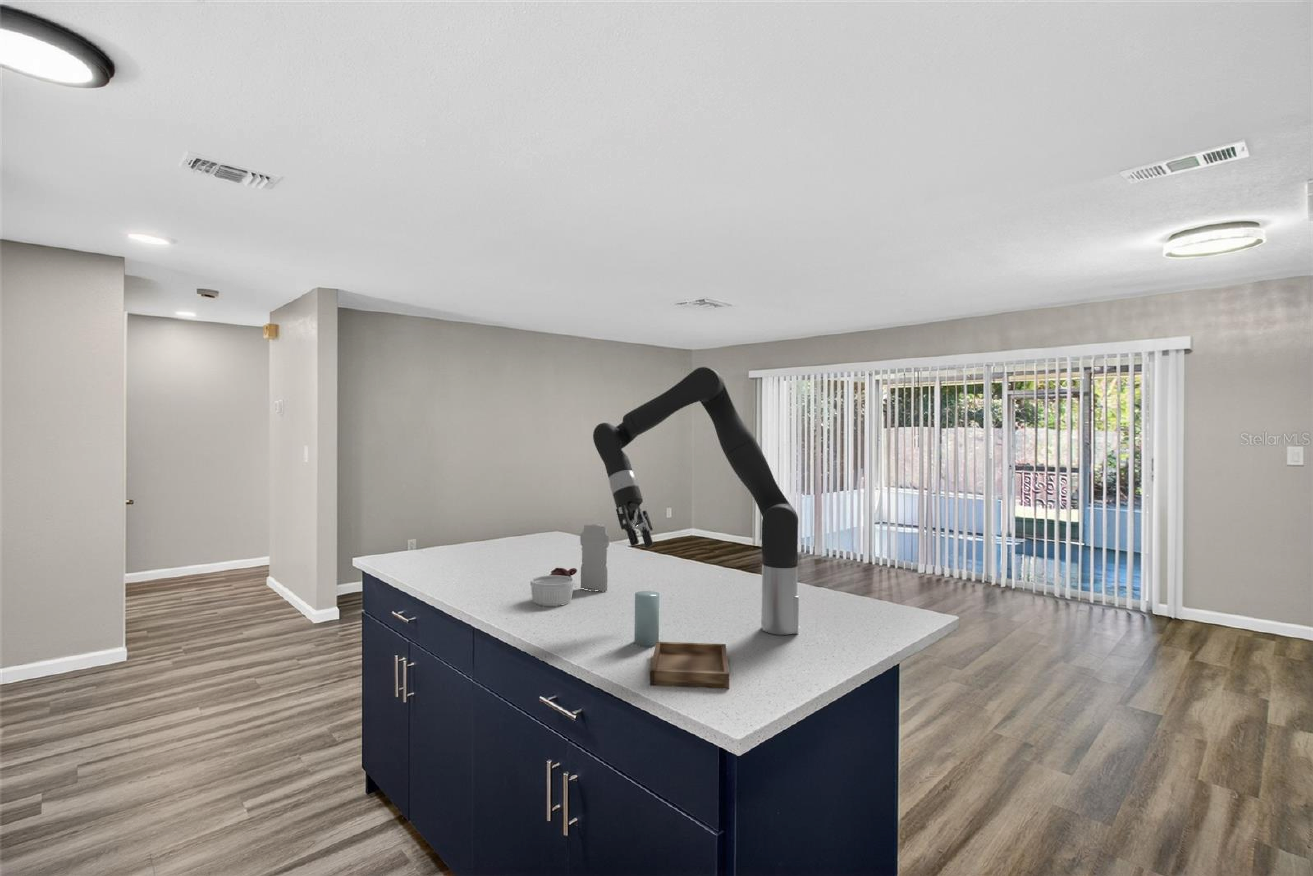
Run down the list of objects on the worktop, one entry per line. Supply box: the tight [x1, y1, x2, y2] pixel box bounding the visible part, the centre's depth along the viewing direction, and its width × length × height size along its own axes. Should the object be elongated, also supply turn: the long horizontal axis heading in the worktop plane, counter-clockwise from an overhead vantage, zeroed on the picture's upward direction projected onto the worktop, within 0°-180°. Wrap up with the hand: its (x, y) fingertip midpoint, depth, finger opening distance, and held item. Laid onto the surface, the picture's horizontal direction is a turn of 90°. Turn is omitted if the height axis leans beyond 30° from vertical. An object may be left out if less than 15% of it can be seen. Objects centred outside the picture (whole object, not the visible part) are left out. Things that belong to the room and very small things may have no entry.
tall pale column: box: [579, 523, 610, 592], centre depth 201 cm, size 11×4×22 cm, turn 69°
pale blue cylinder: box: [633, 590, 660, 648], centre depth 149 cm, size 6×6×12 cm
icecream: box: [549, 567, 578, 578], centre depth 204 cm, size 7×7×15 cm
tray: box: [649, 641, 730, 690], centre depth 132 cm, size 16×18×3 cm
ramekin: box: [529, 574, 575, 607], centre depth 186 cm, size 13×13×7 cm
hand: (642, 545), depth 162 cm, fingers open, 8 cm apart
